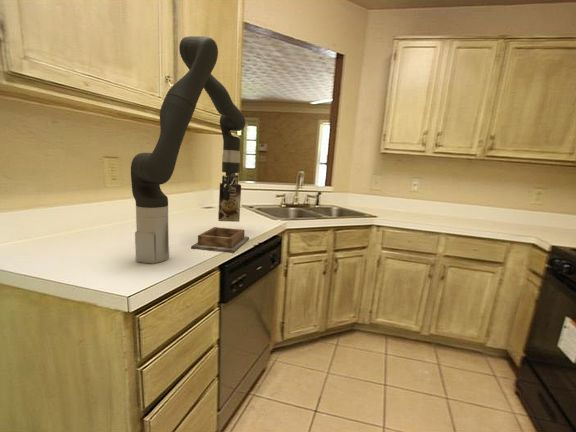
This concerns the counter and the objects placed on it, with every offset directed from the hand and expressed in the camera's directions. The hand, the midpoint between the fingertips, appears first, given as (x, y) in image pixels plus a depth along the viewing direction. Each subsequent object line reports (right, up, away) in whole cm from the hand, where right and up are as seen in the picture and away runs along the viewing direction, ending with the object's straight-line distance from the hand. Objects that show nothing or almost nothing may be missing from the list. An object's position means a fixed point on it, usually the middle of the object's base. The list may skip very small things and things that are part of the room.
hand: (229, 199), depth 134 cm
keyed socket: (0, -18, -14) cm, 23 cm away
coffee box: (-1, -9, +1) cm, 10 cm away
